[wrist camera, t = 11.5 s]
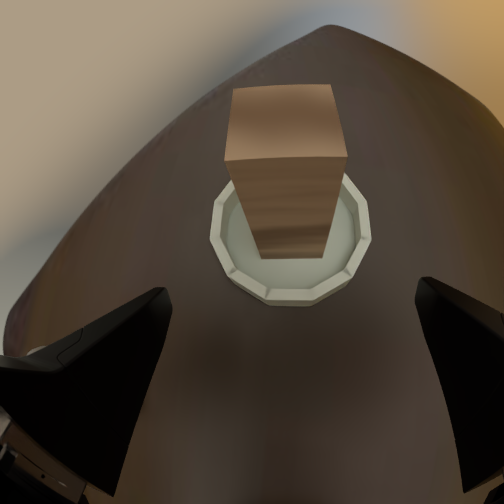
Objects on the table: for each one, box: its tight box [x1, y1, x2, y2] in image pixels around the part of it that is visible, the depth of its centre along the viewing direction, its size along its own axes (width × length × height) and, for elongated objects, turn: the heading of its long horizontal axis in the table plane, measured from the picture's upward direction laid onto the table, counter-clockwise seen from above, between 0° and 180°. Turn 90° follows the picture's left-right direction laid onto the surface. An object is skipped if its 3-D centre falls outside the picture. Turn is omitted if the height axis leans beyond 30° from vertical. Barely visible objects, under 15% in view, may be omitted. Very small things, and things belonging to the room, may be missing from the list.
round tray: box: [210, 173, 371, 307], centre depth 23 cm, size 13×13×3 cm
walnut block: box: [224, 85, 347, 259], centre depth 17 cm, size 5×5×13 cm
